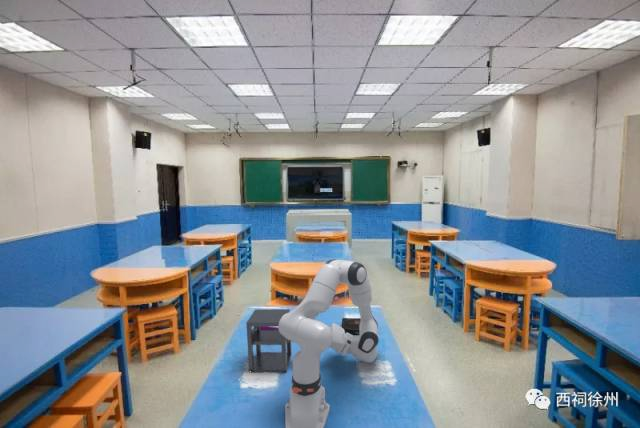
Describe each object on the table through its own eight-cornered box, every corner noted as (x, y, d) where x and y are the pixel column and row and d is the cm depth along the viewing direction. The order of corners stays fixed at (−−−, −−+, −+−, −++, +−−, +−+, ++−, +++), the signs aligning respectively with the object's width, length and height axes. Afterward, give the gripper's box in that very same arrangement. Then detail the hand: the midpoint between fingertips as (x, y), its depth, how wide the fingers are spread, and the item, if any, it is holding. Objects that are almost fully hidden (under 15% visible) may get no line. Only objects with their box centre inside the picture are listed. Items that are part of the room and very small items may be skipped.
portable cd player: (367, 323, 206) (367, 317, 206) (368, 336, 189) (368, 330, 189) (342, 323, 208) (342, 317, 208) (341, 335, 191) (341, 329, 191)
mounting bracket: (269, 340, 199) (257, 341, 183) (271, 326, 202) (259, 326, 186) (283, 342, 197) (271, 343, 180) (284, 328, 199) (273, 327, 183)
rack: (287, 372, 154) (285, 322, 152) (249, 372, 156) (246, 322, 153) (292, 355, 170) (290, 309, 168) (257, 354, 172) (255, 309, 169)
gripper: (348, 327, 169) (326, 315, 169) (350, 347, 149) (324, 333, 149) (343, 337, 170) (321, 325, 170) (343, 358, 149) (318, 344, 150)
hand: (322, 329), depth 159 cm, fingers closed on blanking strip, 4 cm apart
